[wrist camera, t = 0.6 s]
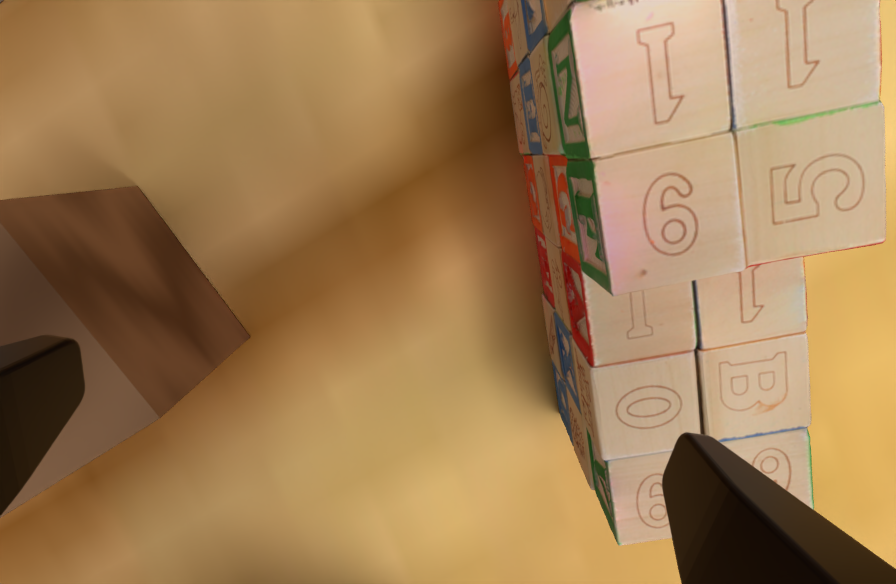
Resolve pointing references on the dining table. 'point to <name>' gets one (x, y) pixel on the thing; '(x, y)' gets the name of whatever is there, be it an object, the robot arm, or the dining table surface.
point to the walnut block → (109, 313)
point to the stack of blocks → (691, 219)
